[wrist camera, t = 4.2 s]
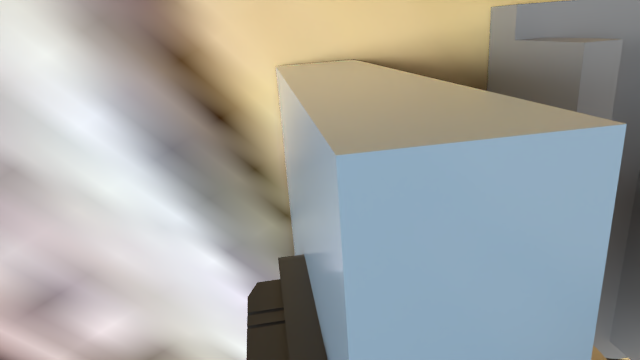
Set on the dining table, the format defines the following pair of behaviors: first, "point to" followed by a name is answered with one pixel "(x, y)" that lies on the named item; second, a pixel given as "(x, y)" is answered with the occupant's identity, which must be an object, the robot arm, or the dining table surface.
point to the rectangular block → (446, 215)
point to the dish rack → (592, 99)
